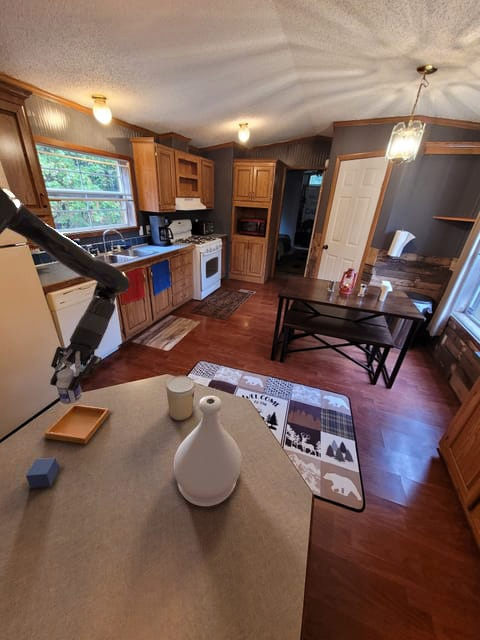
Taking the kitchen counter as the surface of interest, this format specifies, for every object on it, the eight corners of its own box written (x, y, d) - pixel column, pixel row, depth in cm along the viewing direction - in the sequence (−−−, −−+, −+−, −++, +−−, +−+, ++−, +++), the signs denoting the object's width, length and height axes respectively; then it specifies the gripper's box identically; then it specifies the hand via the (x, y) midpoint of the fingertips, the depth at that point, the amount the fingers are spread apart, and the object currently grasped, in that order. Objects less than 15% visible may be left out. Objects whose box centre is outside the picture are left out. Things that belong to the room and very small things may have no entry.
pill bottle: (79, 390, 76) (74, 365, 72) (85, 399, 72) (79, 373, 69) (58, 397, 72) (51, 371, 69) (63, 407, 69) (56, 381, 65)
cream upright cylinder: (199, 415, 87) (199, 387, 82) (173, 426, 82) (171, 396, 77) (188, 399, 94) (188, 372, 89) (163, 408, 88) (161, 380, 84)
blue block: (30, 488, 61) (25, 475, 59) (40, 471, 65) (36, 459, 63) (50, 486, 62) (46, 473, 60) (59, 469, 66) (55, 457, 64)
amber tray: (46, 438, 74) (44, 433, 73) (75, 408, 85) (74, 404, 84) (85, 443, 73) (84, 438, 72) (109, 413, 84) (109, 408, 84)
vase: (205, 437, 78) (207, 370, 69) (252, 470, 70) (262, 398, 60) (159, 480, 65) (154, 404, 55) (210, 527, 56) (214, 447, 46)
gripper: (61, 321, 73) (29, 379, 67) (102, 330, 70) (73, 392, 64) (79, 330, 80) (52, 384, 74) (118, 339, 76) (93, 395, 70)
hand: (62, 387), depth 69 cm, fingers closed on pill bottle, 5 cm apart
